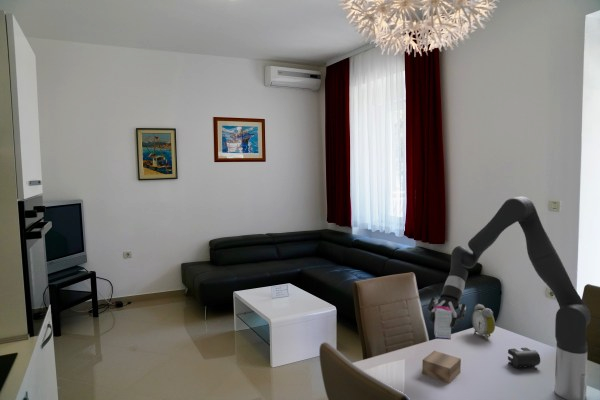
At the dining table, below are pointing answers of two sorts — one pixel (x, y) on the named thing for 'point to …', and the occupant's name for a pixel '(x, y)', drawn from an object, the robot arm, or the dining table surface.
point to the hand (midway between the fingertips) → (441, 324)
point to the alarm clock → (483, 321)
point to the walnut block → (441, 366)
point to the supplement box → (442, 322)
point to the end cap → (523, 358)
